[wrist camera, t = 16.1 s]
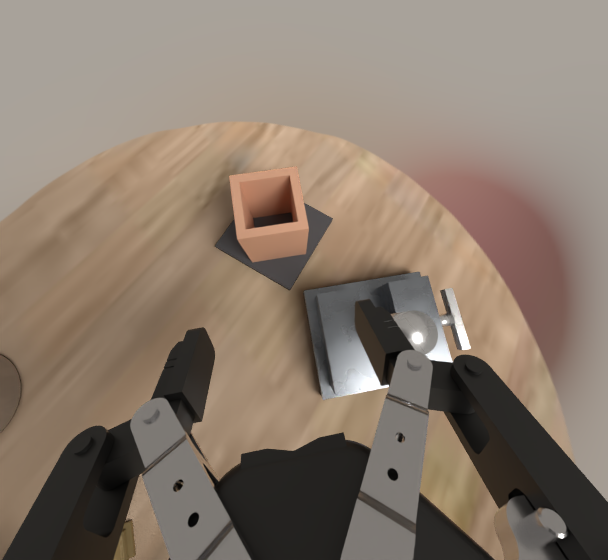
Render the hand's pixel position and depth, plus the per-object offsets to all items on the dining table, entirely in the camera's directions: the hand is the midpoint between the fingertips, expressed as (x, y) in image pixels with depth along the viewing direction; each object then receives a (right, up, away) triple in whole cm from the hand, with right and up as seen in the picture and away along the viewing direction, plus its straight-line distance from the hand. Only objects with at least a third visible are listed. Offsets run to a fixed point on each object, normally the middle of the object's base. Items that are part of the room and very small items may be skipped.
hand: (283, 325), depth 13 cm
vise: (+8, -3, +14) cm, 16 cm away
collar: (-2, +8, +15) cm, 17 cm away
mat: (-2, +8, +16) cm, 18 cm away
